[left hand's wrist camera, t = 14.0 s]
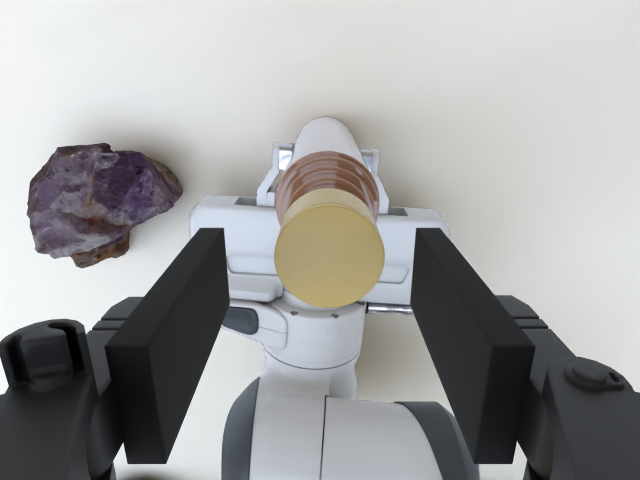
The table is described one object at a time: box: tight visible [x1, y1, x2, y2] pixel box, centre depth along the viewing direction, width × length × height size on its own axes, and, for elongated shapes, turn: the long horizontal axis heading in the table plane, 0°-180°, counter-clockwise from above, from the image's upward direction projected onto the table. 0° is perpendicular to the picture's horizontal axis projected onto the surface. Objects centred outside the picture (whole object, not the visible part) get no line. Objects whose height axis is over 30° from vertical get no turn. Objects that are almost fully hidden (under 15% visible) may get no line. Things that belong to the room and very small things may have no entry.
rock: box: [27, 143, 183, 268], centre depth 37 cm, size 12×9×10 cm
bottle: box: [275, 117, 380, 226], centre depth 27 cm, size 5×5×26 cm
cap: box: [274, 188, 385, 308], centre depth 16 cm, size 4×4×2 cm
